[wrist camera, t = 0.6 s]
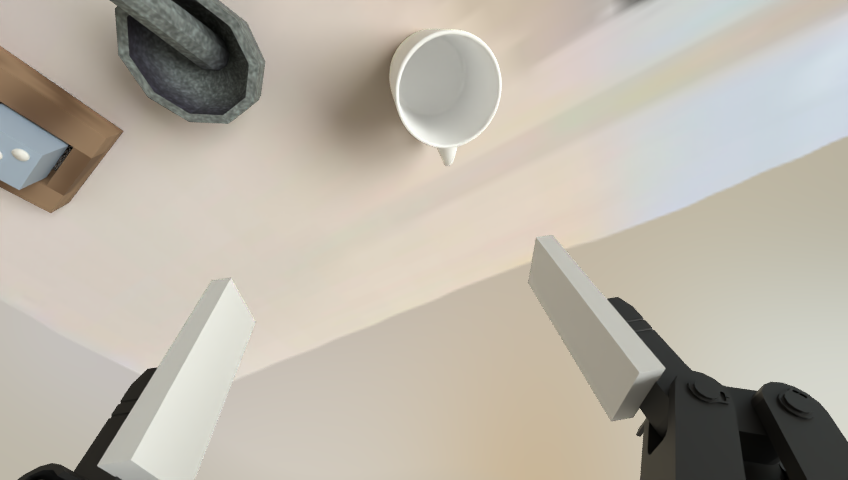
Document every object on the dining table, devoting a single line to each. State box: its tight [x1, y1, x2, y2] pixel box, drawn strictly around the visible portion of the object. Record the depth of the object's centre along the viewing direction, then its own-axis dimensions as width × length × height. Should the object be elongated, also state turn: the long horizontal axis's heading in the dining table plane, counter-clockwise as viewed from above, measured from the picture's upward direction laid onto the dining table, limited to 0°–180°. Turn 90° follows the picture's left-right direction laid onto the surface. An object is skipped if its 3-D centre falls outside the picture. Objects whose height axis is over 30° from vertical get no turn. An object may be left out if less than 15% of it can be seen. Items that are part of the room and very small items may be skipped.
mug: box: [389, 29, 502, 166], centre depth 30 cm, size 9×12×11 cm
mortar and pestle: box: [110, 0, 265, 124], centre depth 25 cm, size 11×9×12 cm
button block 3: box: [0, 104, 69, 190], centre depth 29 cm, size 5×5×3 cm
